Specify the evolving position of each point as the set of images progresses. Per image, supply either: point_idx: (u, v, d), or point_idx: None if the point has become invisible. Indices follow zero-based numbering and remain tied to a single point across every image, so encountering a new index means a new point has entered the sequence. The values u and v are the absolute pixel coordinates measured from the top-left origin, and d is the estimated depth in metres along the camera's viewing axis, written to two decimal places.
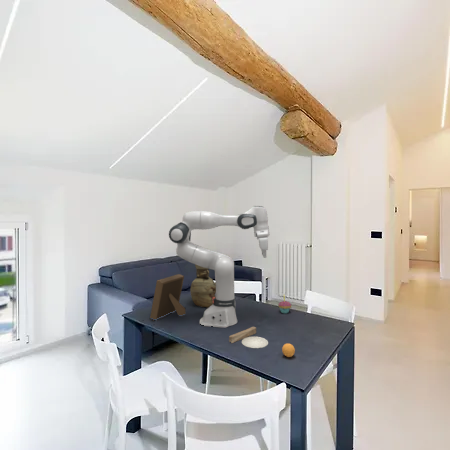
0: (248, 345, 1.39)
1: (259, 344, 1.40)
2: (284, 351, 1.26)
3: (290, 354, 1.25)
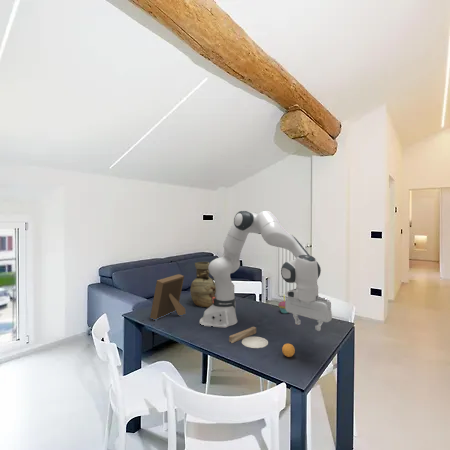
0: (248, 345, 1.39)
1: (259, 344, 1.40)
2: (284, 351, 1.26)
3: (290, 354, 1.25)
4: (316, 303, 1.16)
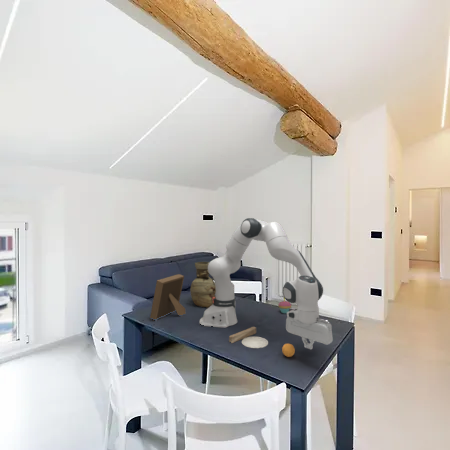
0: (248, 345, 1.39)
1: (259, 344, 1.40)
2: (284, 351, 1.26)
3: (290, 354, 1.25)
4: (317, 325, 1.16)
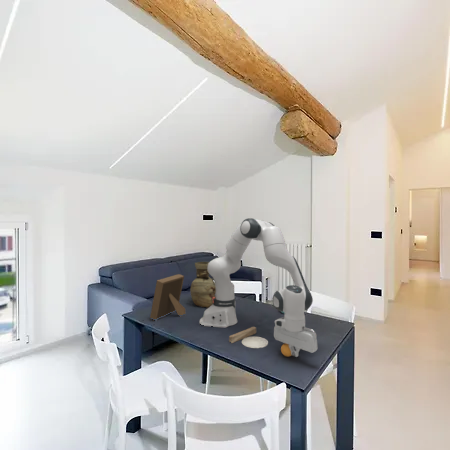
0: (248, 345, 1.39)
1: (259, 344, 1.40)
2: (283, 350, 1.27)
3: (288, 352, 1.26)
4: (302, 334, 1.20)
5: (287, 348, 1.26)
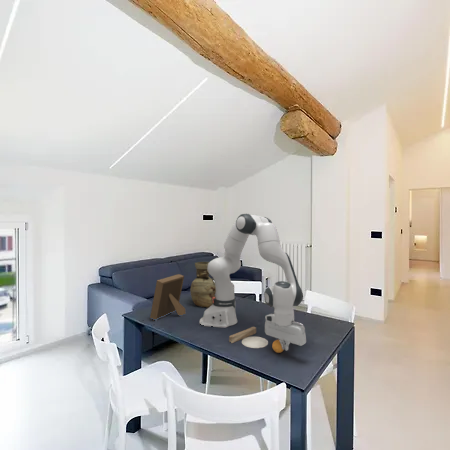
0: (248, 345, 1.39)
1: (259, 344, 1.40)
2: (274, 347, 1.31)
3: (279, 346, 1.30)
4: (291, 327, 1.24)
5: (276, 343, 1.31)
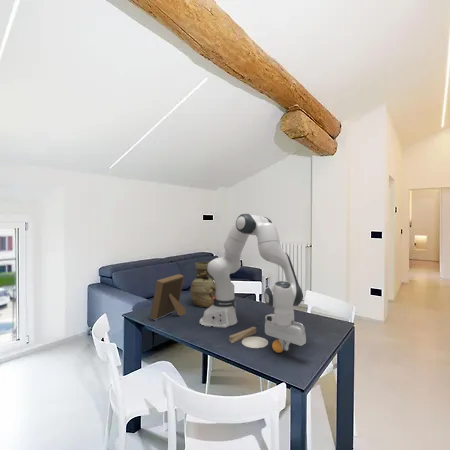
0: (248, 345, 1.39)
1: (259, 344, 1.40)
2: (274, 347, 1.31)
3: (279, 346, 1.30)
4: (291, 327, 1.24)
5: (276, 343, 1.31)
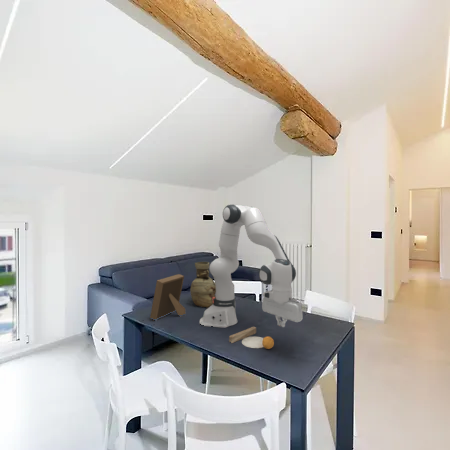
0: (248, 345, 1.39)
1: (259, 344, 1.40)
2: (264, 345, 1.34)
3: (263, 340, 1.36)
4: (288, 304, 1.25)
5: (262, 343, 1.36)
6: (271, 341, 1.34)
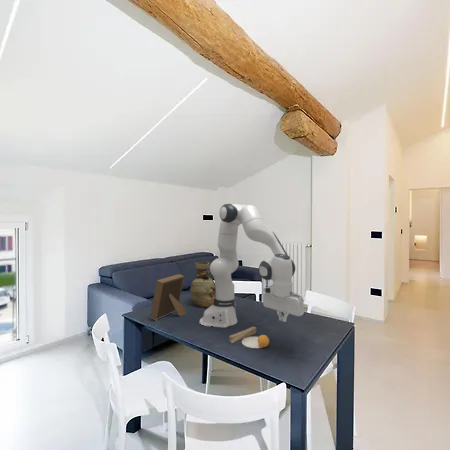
0: (248, 345, 1.39)
1: None
2: (261, 343, 1.36)
3: None
4: (290, 298, 1.25)
5: (260, 345, 1.37)
6: (262, 336, 1.37)
